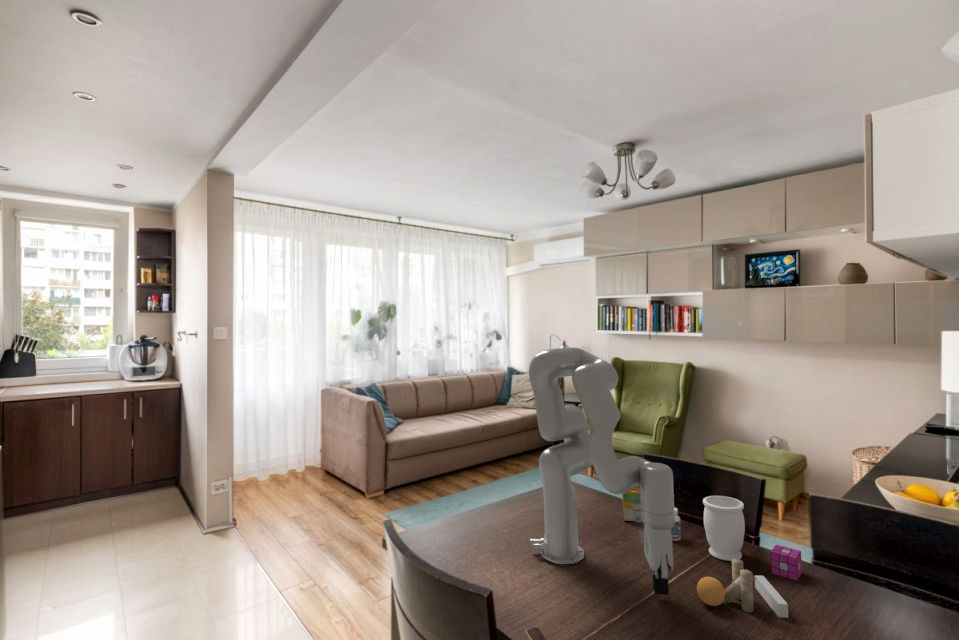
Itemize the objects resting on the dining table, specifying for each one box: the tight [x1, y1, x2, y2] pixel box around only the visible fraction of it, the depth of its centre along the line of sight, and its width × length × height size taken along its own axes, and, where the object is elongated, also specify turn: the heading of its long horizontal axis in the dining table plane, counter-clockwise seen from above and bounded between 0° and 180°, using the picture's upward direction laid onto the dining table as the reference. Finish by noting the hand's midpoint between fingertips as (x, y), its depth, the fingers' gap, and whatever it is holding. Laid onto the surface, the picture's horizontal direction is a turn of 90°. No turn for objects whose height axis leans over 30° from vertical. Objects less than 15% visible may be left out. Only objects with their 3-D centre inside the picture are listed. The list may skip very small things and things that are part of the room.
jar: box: [702, 495, 746, 562], centre depth 133 cm, size 11×10×15 cm
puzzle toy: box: [770, 544, 803, 582], centre depth 122 cm, size 6×6×6 cm
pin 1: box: [731, 559, 744, 600], centre depth 113 cm, size 2×2×8 cm
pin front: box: [724, 574, 756, 604], centre depth 110 cm, size 2×2×8 cm
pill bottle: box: [671, 506, 682, 542], centre depth 145 cm, size 5×5×9 cm
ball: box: [696, 576, 725, 607], centre depth 110 cm, size 6×6×6 cm
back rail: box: [754, 575, 789, 619], centre depth 110 cm, size 2×12×3 cm, turn 172°
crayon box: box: [621, 487, 642, 523], centre depth 158 cm, size 7×3×12 cm, turn 77°
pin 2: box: [740, 568, 755, 613], centre depth 108 cm, size 2×2×8 cm
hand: (660, 592), depth 113 cm, fingers closed
